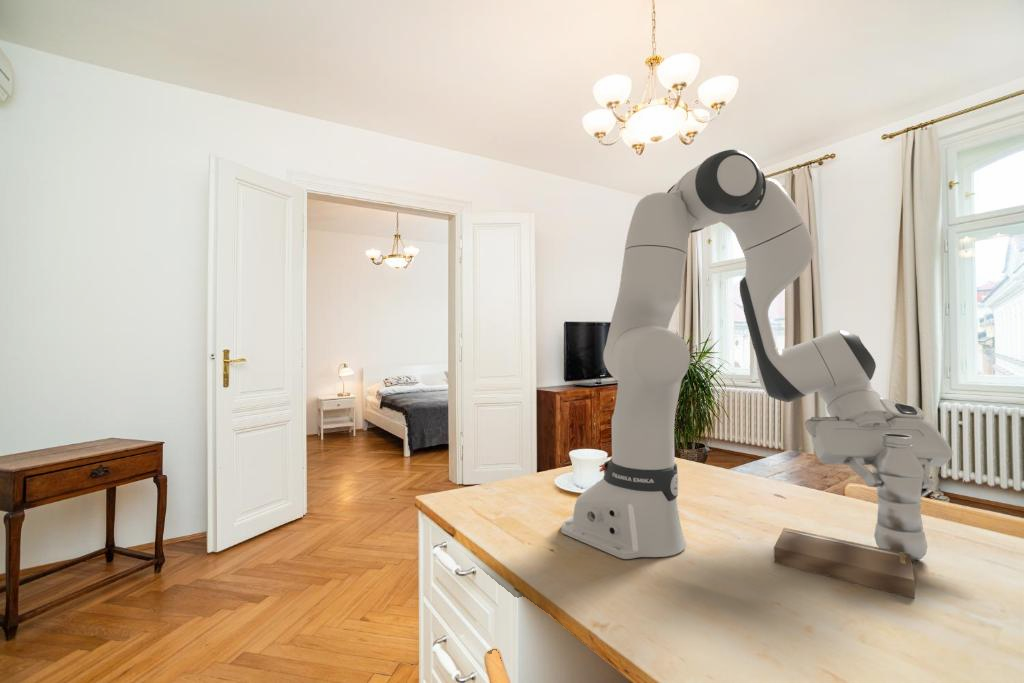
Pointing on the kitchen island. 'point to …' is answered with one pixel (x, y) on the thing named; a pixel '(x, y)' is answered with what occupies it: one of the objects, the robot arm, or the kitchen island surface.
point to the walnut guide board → (846, 561)
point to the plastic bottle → (899, 498)
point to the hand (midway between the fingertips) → (901, 486)
